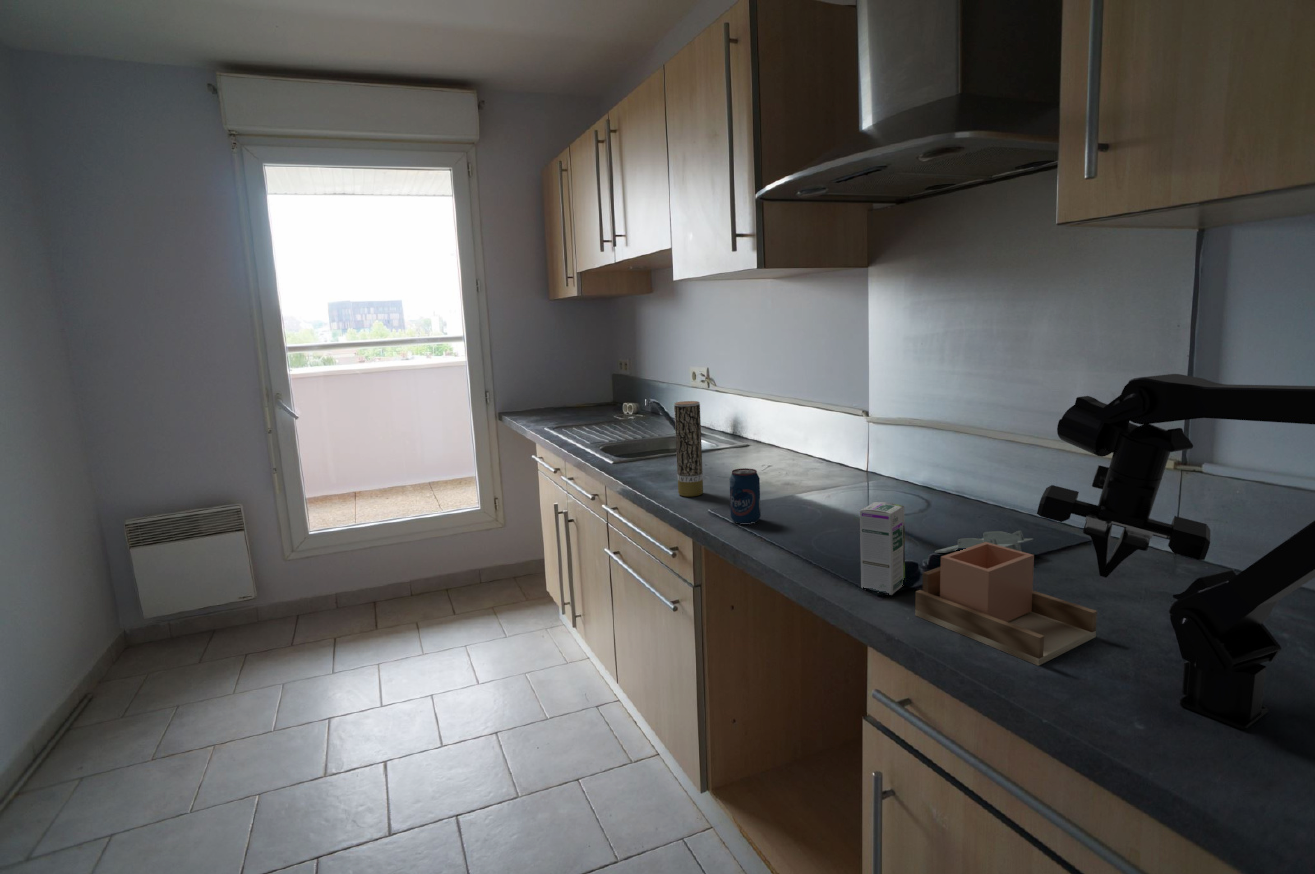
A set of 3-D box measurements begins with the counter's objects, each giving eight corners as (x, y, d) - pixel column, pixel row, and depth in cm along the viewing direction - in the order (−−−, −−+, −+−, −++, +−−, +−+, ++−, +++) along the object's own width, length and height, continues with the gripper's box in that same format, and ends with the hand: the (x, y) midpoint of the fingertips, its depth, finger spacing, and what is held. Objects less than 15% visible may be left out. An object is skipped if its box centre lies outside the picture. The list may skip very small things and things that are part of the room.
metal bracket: (1042, 527, 134) (988, 541, 128) (1049, 557, 134) (995, 573, 127) (980, 529, 147) (927, 542, 141) (985, 557, 147) (933, 572, 140)
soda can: (729, 525, 163) (727, 474, 161) (732, 516, 170) (731, 467, 168) (759, 525, 162) (757, 474, 159) (761, 517, 168) (760, 467, 166)
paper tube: (679, 491, 196) (675, 401, 192) (703, 490, 195) (700, 400, 191) (677, 497, 189) (673, 404, 185) (702, 497, 189) (699, 404, 184)
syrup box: (892, 596, 120) (893, 513, 117) (859, 588, 123) (859, 508, 121) (905, 585, 124) (906, 504, 121) (873, 578, 128) (873, 500, 125)
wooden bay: (1095, 637, 102) (1098, 591, 101) (1038, 665, 95) (1040, 616, 94) (971, 593, 119) (972, 554, 118) (915, 615, 112) (915, 573, 111)
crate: (1031, 611, 108) (1034, 555, 107) (986, 630, 103) (988, 571, 101) (984, 594, 115) (985, 541, 114) (939, 612, 110) (940, 556, 108)
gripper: (1225, 470, 91) (1188, 573, 97) (1063, 435, 101) (1038, 530, 107) (1226, 500, 83) (1185, 612, 89) (1050, 459, 93) (1023, 562, 99)
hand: (1103, 575), depth 96 cm, fingers closed
